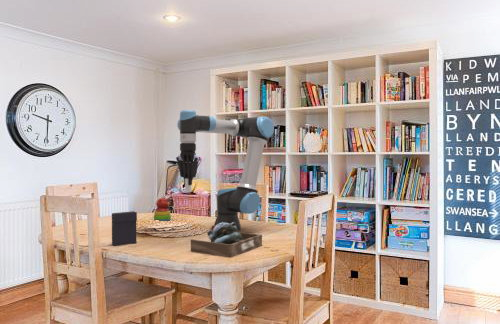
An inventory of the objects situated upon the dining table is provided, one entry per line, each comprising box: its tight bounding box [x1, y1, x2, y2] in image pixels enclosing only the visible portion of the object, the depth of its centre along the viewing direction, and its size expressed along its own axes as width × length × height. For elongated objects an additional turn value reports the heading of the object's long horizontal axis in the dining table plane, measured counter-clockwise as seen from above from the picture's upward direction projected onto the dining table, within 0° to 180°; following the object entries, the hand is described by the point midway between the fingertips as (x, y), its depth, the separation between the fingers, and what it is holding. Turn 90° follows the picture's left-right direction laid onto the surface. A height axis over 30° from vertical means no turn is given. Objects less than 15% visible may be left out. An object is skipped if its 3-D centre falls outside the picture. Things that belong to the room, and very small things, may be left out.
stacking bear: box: [153, 197, 172, 222], centre depth 246 cm, size 11×10×18 cm
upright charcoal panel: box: [111, 210, 138, 247], centre depth 208 cm, size 11×4×15 cm, turn 129°
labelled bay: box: [190, 231, 263, 258], centre depth 200 cm, size 26×22×5 cm
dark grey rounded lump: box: [206, 221, 243, 244], centre depth 200 cm, size 15×12×14 cm
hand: (188, 191), depth 211 cm, fingers closed
